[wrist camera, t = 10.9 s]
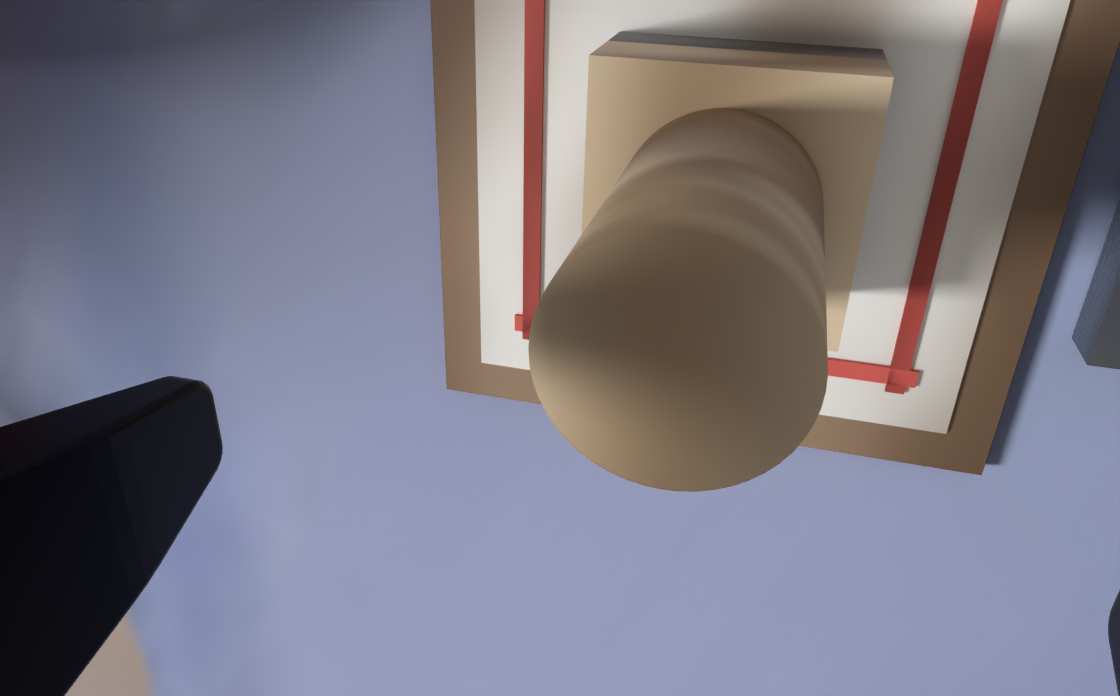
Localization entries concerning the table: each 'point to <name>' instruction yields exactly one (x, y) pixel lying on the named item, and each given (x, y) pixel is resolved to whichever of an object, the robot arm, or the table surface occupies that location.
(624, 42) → the stamp
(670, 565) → the table surface
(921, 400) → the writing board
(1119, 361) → the dark grey flat block
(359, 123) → the table surface
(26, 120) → the table surface
